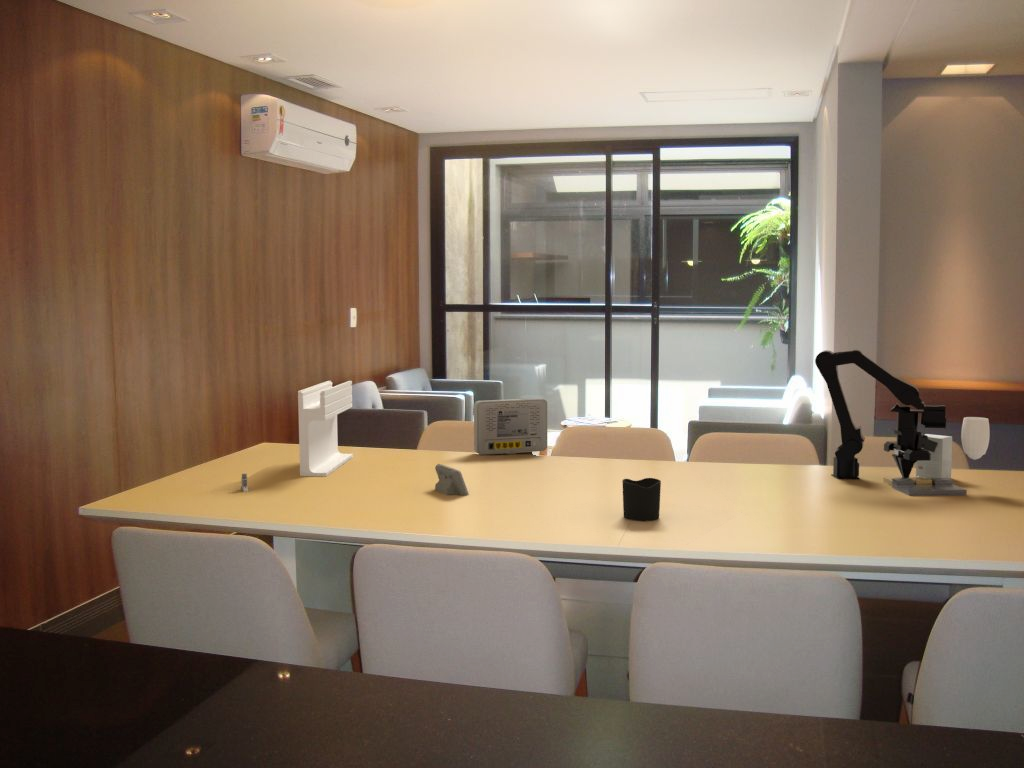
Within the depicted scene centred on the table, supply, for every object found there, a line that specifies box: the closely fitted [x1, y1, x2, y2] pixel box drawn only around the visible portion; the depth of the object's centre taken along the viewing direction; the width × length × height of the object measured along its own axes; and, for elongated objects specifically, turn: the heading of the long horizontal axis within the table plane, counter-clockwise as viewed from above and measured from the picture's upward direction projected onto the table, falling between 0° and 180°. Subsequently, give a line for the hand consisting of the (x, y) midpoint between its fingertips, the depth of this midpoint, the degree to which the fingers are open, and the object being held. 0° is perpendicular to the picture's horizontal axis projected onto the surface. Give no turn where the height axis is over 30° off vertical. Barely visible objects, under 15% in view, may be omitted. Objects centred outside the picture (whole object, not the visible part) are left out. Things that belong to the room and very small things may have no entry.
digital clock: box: [434, 463, 470, 497], centre depth 262 cm, size 14×8×9 cm, turn 18°
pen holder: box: [622, 477, 662, 522], centre depth 235 cm, size 9×9×10 cm
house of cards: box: [233, 473, 249, 493], centre depth 262 cm, size 9×9×8 cm
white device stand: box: [297, 380, 354, 477], centre depth 300 cm, size 35×8×28 cm, turn 176°
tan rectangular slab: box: [882, 476, 932, 487], centre depth 275 cm, size 14×11×3 cm
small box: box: [915, 433, 953, 479], centre depth 287 cm, size 8×6×13 cm
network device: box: [473, 397, 548, 456], centre depth 329 cm, size 26×9×20 cm, turn 108°
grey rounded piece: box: [960, 416, 991, 460], centre depth 268 cm, size 7×7×21 cm
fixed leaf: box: [891, 477, 968, 497], centre depth 266 cm, size 16×11×3 cm
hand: (905, 479), depth 281 cm, fingers closed
